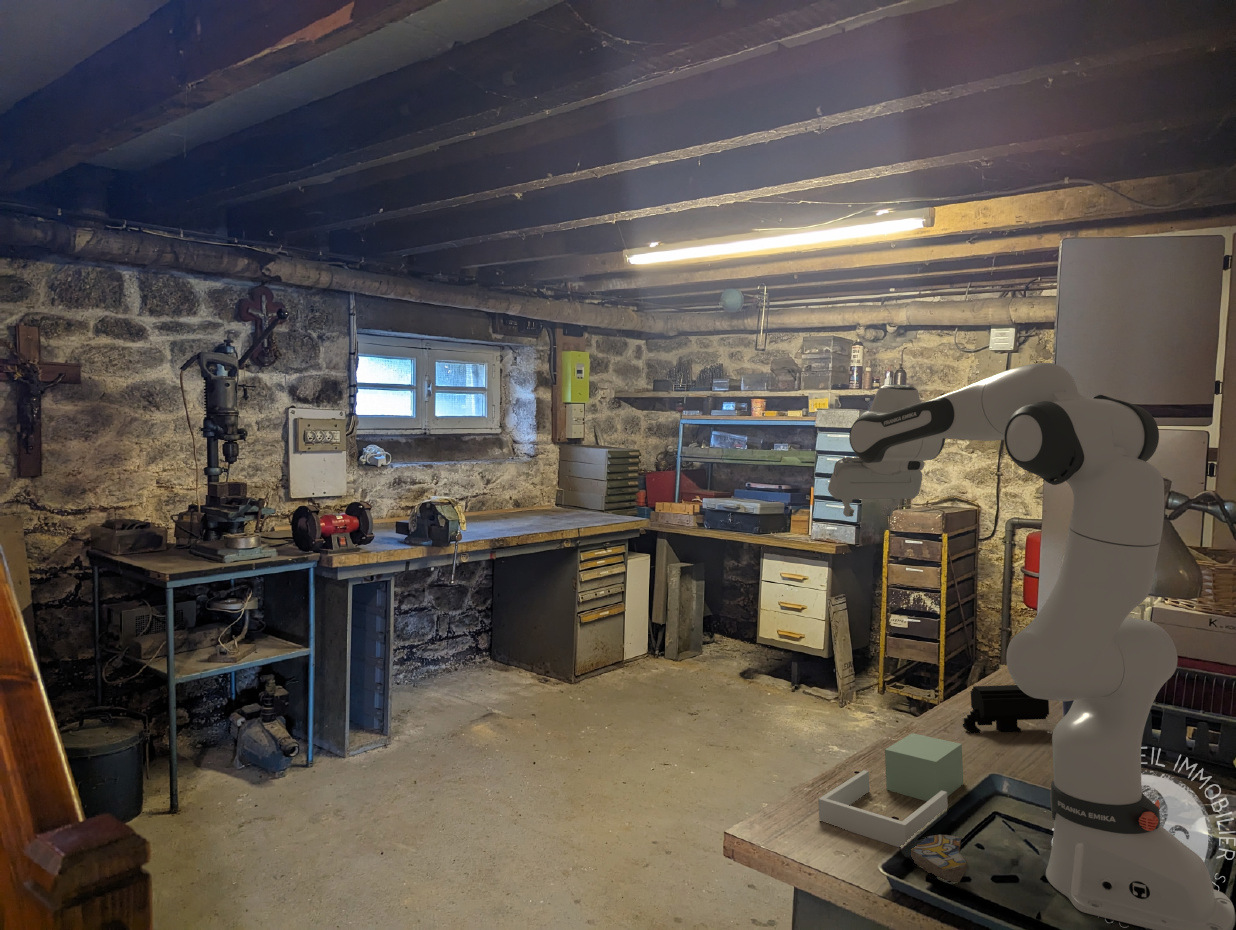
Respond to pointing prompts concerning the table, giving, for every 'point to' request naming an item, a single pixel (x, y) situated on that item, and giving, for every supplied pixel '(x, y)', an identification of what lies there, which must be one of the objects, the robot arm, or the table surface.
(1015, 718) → the security camera
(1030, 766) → the table surface
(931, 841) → the ceramic tile fragment
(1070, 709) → the robot arm
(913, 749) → the block
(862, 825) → the box
